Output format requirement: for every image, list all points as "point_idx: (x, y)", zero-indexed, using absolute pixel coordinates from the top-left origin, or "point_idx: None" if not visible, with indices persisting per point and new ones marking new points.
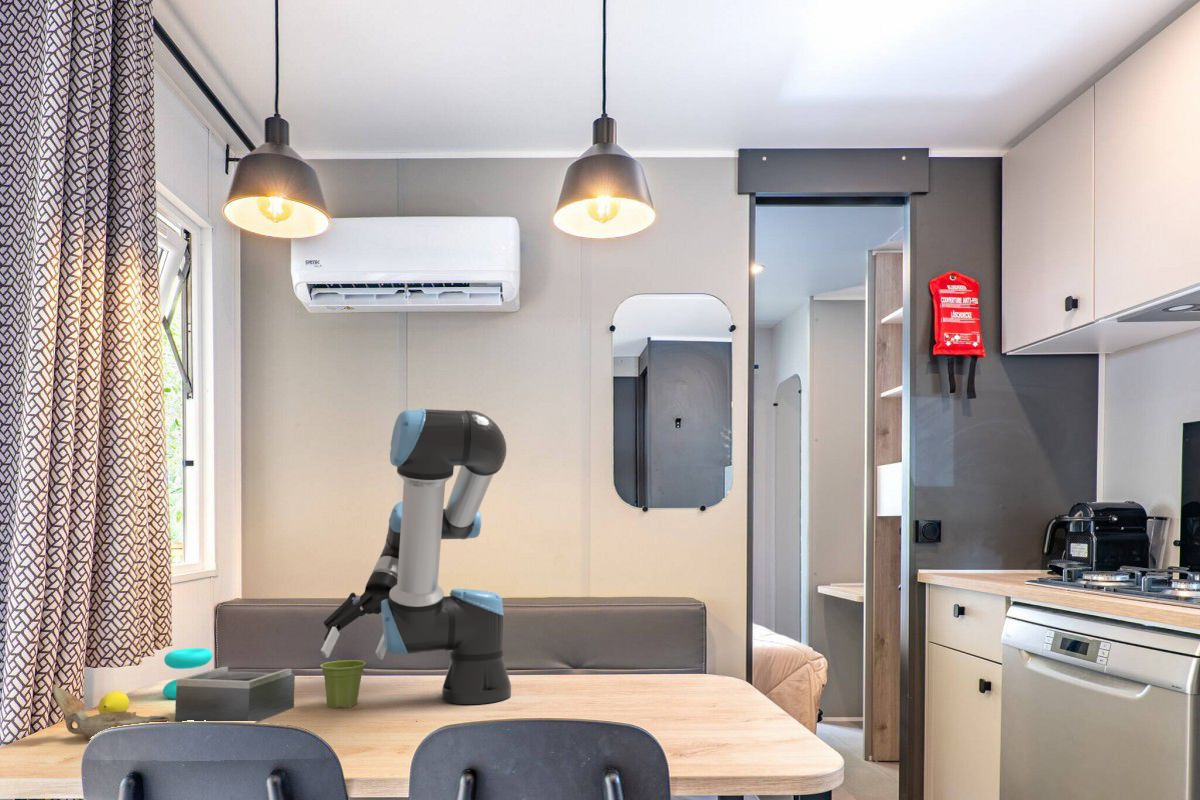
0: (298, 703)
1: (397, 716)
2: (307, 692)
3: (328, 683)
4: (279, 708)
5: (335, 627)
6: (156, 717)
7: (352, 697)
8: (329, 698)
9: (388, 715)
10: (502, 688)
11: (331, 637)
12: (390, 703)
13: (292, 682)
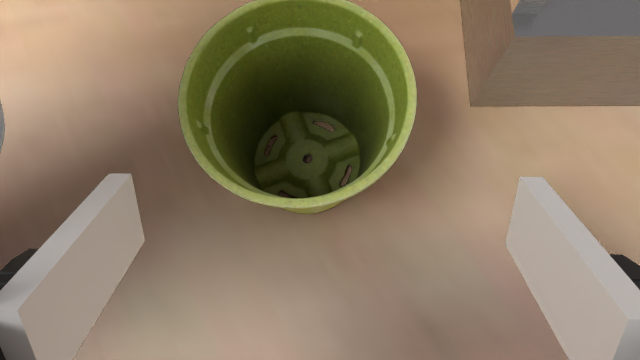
0: (498, 163)
1: (39, 60)
2: None
3: (331, 60)
4: (467, 22)
5: (623, 321)
6: None
7: (248, 130)
8: (328, 96)
9: (74, 66)
10: None
11: (568, 261)
12: None
13: (500, 43)
